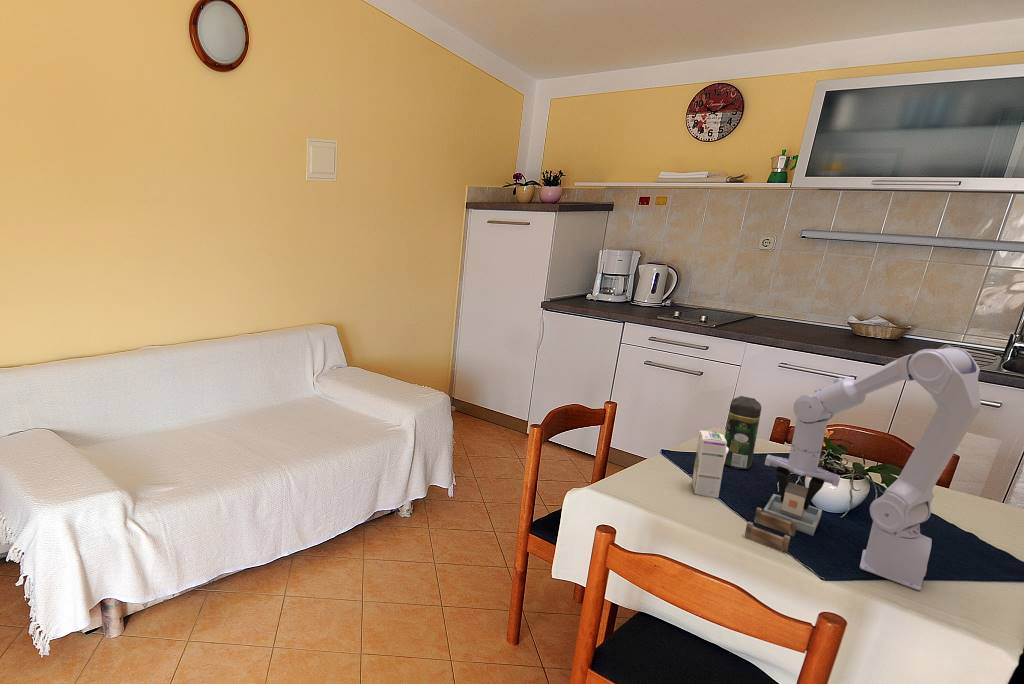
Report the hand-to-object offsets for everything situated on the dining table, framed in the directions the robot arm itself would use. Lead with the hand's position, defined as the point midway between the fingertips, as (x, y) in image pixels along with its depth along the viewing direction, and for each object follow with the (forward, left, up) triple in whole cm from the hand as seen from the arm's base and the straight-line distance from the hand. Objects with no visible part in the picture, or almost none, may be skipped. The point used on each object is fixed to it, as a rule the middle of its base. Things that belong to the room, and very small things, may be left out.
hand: (794, 504), depth 119 cm
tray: (0, 0, -3) cm, 3 cm away
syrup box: (+19, +2, -4) cm, 19 cm away
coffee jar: (+18, -22, -4) cm, 29 cm away
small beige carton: (0, 0, -2) cm, 2 cm away
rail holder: (+2, +12, -3) cm, 13 cm away
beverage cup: (+20, -6, -4) cm, 21 cm away
